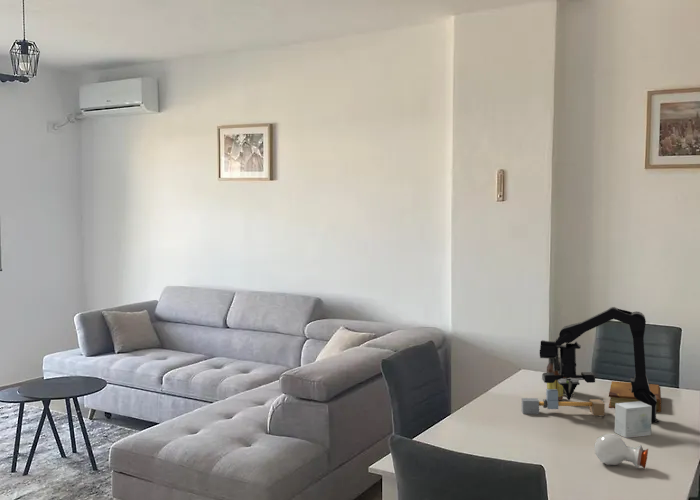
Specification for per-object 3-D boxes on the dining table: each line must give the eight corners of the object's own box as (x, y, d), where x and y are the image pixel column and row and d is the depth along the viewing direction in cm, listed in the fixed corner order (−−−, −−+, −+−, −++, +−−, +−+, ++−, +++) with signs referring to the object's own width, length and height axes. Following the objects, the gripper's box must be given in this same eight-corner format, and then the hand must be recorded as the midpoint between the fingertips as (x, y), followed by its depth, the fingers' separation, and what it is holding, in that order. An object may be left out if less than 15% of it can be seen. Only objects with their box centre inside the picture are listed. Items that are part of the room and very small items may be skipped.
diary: (661, 414, 259) (661, 399, 259) (608, 409, 267) (608, 394, 266) (660, 398, 280) (660, 384, 280) (611, 394, 288) (611, 380, 287)
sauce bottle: (561, 397, 282) (561, 350, 281) (564, 401, 276) (564, 353, 275) (545, 397, 283) (545, 350, 282) (548, 401, 277) (548, 353, 276)
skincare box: (626, 438, 230) (626, 408, 230) (614, 432, 237) (614, 403, 236) (652, 435, 233) (652, 405, 233) (639, 429, 239) (639, 400, 239)
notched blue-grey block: (556, 406, 262) (556, 389, 262) (558, 409, 259) (558, 391, 259) (545, 406, 263) (545, 388, 262) (547, 409, 259) (547, 391, 259)
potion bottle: (592, 464, 211) (643, 478, 204) (589, 454, 204) (643, 469, 197) (598, 435, 215) (649, 448, 208) (596, 425, 208) (648, 438, 200)
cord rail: (600, 411, 262) (600, 397, 262) (604, 415, 256) (604, 402, 256) (521, 410, 265) (521, 397, 265) (523, 414, 259) (523, 401, 259)
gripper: (587, 354, 266) (588, 394, 267) (539, 355, 268) (540, 394, 269) (595, 360, 255) (595, 401, 256) (544, 361, 257) (545, 402, 258)
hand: (568, 399), depth 260 cm, fingers closed
